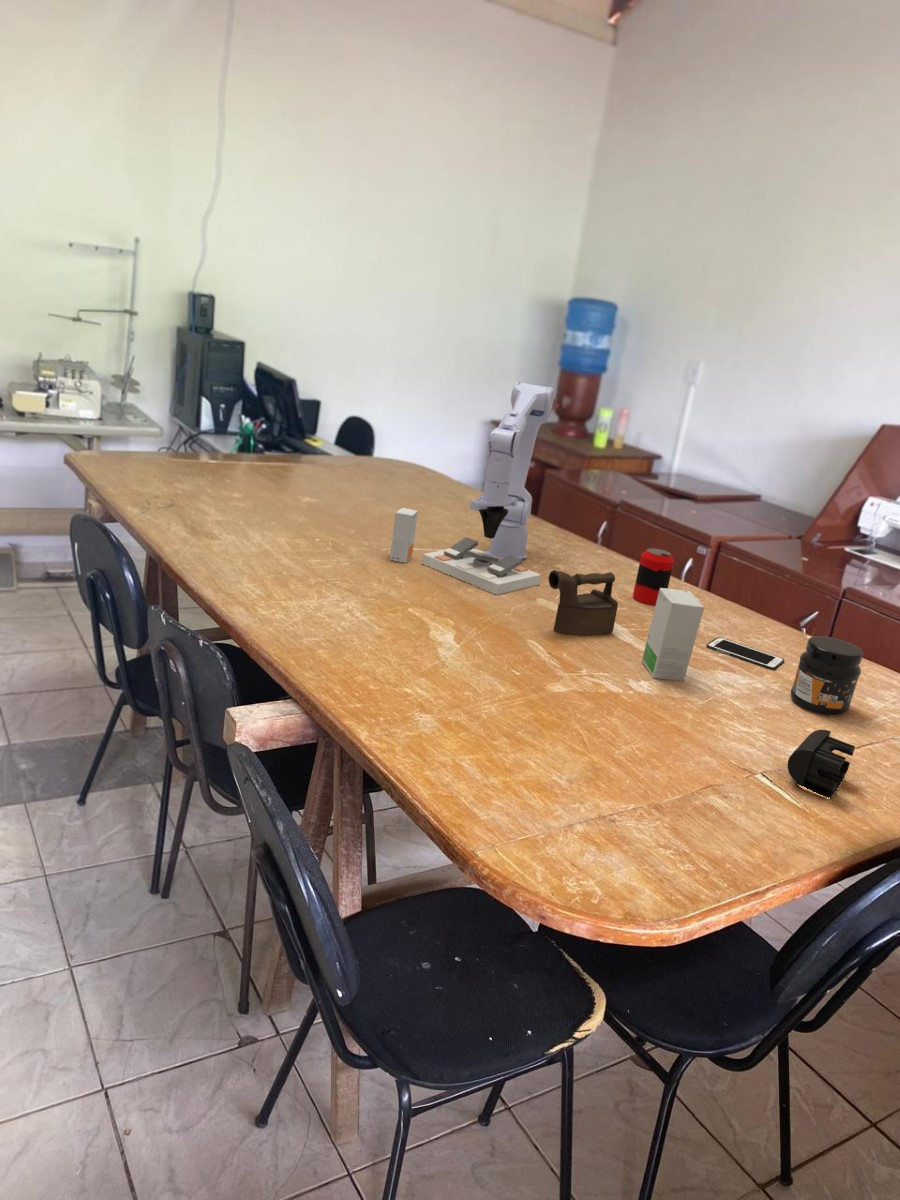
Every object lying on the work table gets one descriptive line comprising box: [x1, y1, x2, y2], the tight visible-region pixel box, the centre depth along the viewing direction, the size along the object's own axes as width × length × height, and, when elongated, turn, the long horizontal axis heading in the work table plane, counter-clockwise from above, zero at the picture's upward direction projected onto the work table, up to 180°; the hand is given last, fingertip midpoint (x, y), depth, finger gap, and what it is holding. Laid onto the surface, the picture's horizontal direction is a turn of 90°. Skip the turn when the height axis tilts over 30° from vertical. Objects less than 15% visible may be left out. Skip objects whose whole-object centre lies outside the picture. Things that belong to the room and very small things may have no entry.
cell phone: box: [705, 636, 785, 671], centre depth 187 cm, size 8×15×1 cm, turn 54°
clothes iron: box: [548, 569, 619, 636], centre depth 185 cm, size 8×16×13 cm, turn 120°
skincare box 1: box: [389, 507, 419, 564], centre depth 216 cm, size 6×4×12 cm
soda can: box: [632, 547, 675, 606], centre depth 211 cm, size 8×8×12 cm
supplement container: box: [790, 635, 864, 716], centre depth 164 cm, size 10×10×12 cm
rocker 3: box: [487, 555, 523, 576], centre depth 209 cm, size 8×4×1 cm, turn 137°
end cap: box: [787, 729, 856, 799], centre depth 137 cm, size 10×7×7 cm
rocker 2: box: [466, 550, 499, 562], centre depth 213 cm, size 8×4×1 cm, turn 138°
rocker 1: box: [444, 536, 479, 560], centre depth 217 cm, size 8×4×1 cm, turn 137°
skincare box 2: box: [641, 588, 705, 682], centre depth 169 cm, size 8×7×16 cm
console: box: [421, 548, 542, 596], centre depth 214 cm, size 16×24×3 cm, turn 47°
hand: (489, 537), depth 211 cm, fingers closed
